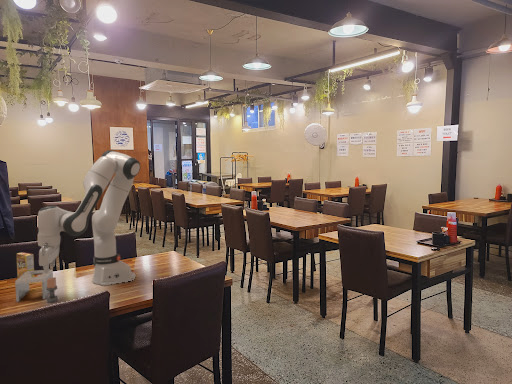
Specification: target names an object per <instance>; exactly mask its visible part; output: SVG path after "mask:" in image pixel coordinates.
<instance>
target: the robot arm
mask: <svg viewBox="0 0 512 384" xmlns="http://www.w3.org/2000/svg"><path fill="white" fill-rule="evenodd" d="M140 170H141V163H140V161H139V160H138V159H137V158H135V157H132V156H130V155H128V154H125V153H122V152H118V151H116V150H113V149H111V150H106V151H104V152H103V153H102V154H101V155H100V157H99V158H98V159H97V160H96V161H95V162H94V163H93V164H92V165H91V166H90V168H89V169H88V171H87V173H86V174H85V176H84V179H83V180H82V185H83V187H84V190H85V192H84V193H85V194H84V197H83V199H82V200H81V202H80V204H79V206H78V208H77V209H76V211H75V212H74V211H70V210H69V211H68V210H66V209H63V208H60V207H59V206H57V205H47V206H44V207H41V208H39V211H38V213H37V228H38V232H37V245H38V246H39V247H41V248H40V249H39V251H38V264H39V266H40V267H42V269H43V270H44V273H49V270H50V268H54V267H55V265H56V258H57V257H58V256H59V255H60V254H59V253H60V244H61V241H62V236H61V234H60V233H61V232H65V233H66V234H67V235H69V236H72V237H79V236H81V235H83V234H84V233H85V232H86V231H87V230H88V227H89V222H90V218H91V227H92V236H93V245H94V246H93V248H94V255H93V266H94V269H93V270H94V271H93V277H92V283H93V284H95V285H100V286H104V287H105V286H111V284H112V285H117V284H116V283H119V284H123V283H122V282H125V283H129V282H128V281H131V282H133V281H134V279H135V280H136V278H135V277H136V276H137V275H136V273H134V272H133V271H132V269H131V266H130V265H129V264H128V263H126V262H124V261H123V260H121V254H119V253H117V239H116V233H115V229H116V227H117V226H118V222H119V219H120V216H121V213H122V210H123V208H124V207H123V206H124V204H125V202H126V200H127V198H128V196H129V193H130V191H131V190H132V187H133V183H134V179H135V177H137V176H138V174H139V173H140ZM107 186H108V187H107ZM106 189H107V190H106ZM105 190H106V191H105ZM104 191H105V193H104ZM103 193H104V195H103ZM102 195H103V197H102ZM101 197H102V201H101V204H100V207H99V209H97V210H96V211H94V210H95V209H96V206H97V204H98V203H99V201H100V200H101ZM132 280H133V281H132Z"/></svg>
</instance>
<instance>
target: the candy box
mask: <svg viewBox="0 0 512 384" xmlns="http://www.w3.org/2000/svg"><path fill="white" fill-rule="evenodd" d="M34 260H35V259H34V253H28V252H23V251H22V252H18V253H16V271H17V279H18V278H19V277H21V276H22V275H23V274H24V273H25V272H26V271H35V261H34ZM32 277H35V274H32V275H31V278H32Z"/></svg>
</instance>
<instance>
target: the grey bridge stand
mask: <svg viewBox="0 0 512 384" xmlns="http://www.w3.org/2000/svg"><path fill="white" fill-rule="evenodd" d="M32 274H34V275H36V274H37V276H34V277H32V278H31V275H32ZM48 278H54V271H53V269H49V273H44V269H41V270H40V269H39V270H34V271H26V272H25V273H24V274H23V275H22V276H21V277H19V278H18V277H17V279H16V280H15V281H14V283H15V285H14V286H15V298H16V299H15V300H16V303H19V302H20V301H21V300H23V298H24V297H25V296H26V295H27V294H28V293H29V291H30V284H31V283H41V290H42V291H41V292H42V300H47V297H49V296H50V291H47V289H46V288H47V279H48Z"/></svg>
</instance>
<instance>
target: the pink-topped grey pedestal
mask: <svg viewBox="0 0 512 384" xmlns="http://www.w3.org/2000/svg"><path fill="white" fill-rule="evenodd" d="M56 278H57V277H56V276H55V277H53V278H48V279H47V288H46V289H47V291H50V293H49V295H48V296H47V298H46V303H48V304H54V303H57V302H59V297H58V295H56V294H55V293H56V292H55V291H56V290H57V289H58V285H57V279H56Z"/></svg>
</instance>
